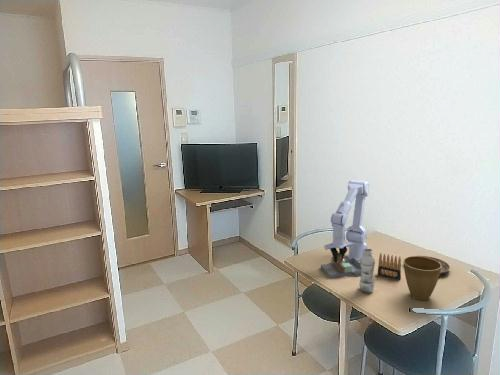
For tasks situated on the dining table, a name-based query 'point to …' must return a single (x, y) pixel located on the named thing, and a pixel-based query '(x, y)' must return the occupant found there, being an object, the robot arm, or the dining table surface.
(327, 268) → the charcoal board
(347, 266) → the pale mint cube
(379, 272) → the ammunition clip
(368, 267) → the plastic bottle
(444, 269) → the plant saucer
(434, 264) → the plant pot
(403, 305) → the dining table surface
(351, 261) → the tray
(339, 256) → the walnut mallet
